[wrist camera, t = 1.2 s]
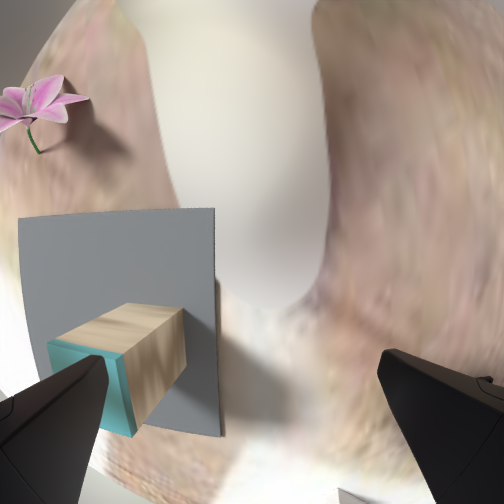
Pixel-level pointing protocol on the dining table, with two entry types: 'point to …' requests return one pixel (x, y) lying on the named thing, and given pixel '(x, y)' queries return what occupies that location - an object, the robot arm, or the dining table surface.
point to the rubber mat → (128, 291)
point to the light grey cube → (337, 498)
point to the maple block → (128, 359)
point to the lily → (36, 104)
